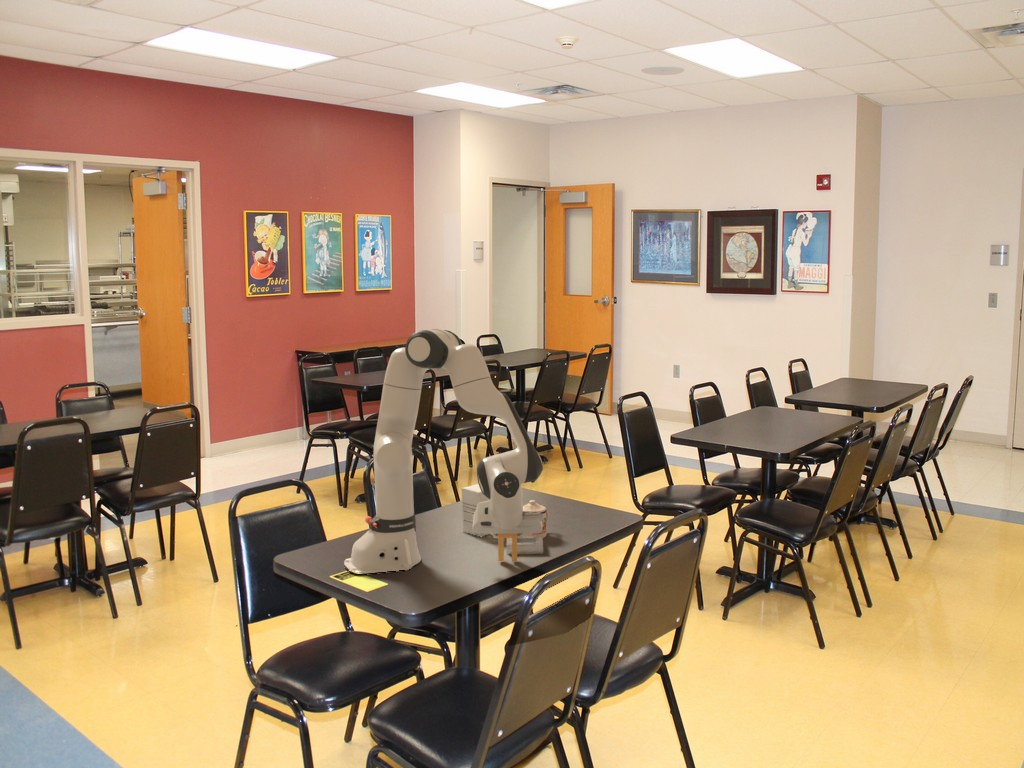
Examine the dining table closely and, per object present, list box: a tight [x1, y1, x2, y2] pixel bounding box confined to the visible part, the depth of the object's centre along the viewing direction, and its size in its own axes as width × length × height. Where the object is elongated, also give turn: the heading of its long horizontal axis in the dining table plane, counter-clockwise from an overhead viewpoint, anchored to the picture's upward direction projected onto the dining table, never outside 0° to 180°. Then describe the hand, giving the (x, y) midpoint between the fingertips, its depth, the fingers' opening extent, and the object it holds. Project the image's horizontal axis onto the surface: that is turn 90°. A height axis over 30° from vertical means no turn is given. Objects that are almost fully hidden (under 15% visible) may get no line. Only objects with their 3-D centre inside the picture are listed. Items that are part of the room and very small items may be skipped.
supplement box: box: [461, 483, 491, 538], centre depth 289 cm, size 9×9×15 cm
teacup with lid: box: [522, 499, 549, 539], centre depth 284 cm, size 12×9×12 cm
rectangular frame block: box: [506, 536, 544, 555], centre depth 270 cm, size 8×11×3 cm
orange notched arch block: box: [497, 533, 518, 562], centre depth 258 cm, size 6×3×12 cm, turn 89°
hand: (507, 536), depth 259 cm, fingers closed on orange notched arch block, 5 cm apart
